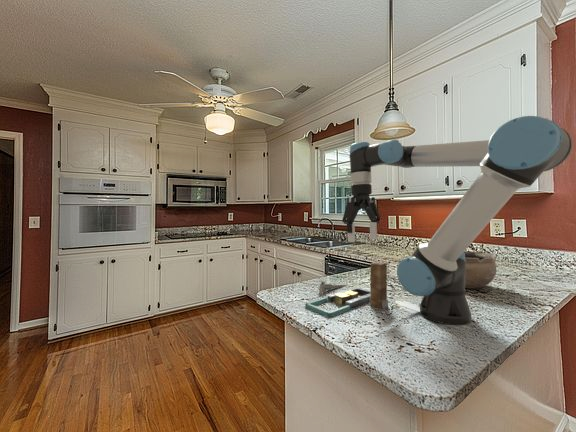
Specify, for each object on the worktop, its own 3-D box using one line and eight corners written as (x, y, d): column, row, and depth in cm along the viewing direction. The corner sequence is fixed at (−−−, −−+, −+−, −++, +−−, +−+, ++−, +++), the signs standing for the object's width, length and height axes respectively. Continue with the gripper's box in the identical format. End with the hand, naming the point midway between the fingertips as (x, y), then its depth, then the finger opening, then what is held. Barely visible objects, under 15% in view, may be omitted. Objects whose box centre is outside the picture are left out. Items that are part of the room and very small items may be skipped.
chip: (358, 300, 104) (358, 292, 104) (352, 303, 102) (352, 295, 102) (349, 297, 107) (349, 290, 107) (343, 300, 105) (343, 292, 104)
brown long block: (389, 310, 97) (389, 263, 96) (382, 313, 95) (382, 265, 94) (374, 305, 102) (374, 261, 101) (368, 308, 99) (368, 262, 99)
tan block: (349, 303, 101) (349, 295, 101) (341, 305, 99) (341, 297, 99) (342, 300, 105) (342, 292, 105) (334, 302, 103) (334, 294, 103)
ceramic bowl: (476, 296, 110) (476, 260, 110) (429, 283, 130) (429, 252, 130) (507, 288, 119) (507, 255, 119) (458, 277, 139) (459, 248, 139)
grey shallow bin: (379, 301, 106) (379, 293, 106) (351, 312, 96) (351, 303, 96) (354, 294, 116) (354, 286, 115) (326, 303, 105) (326, 295, 105)
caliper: (321, 297, 113) (321, 282, 113) (319, 296, 114) (319, 282, 114) (350, 287, 126) (350, 274, 126) (348, 286, 127) (348, 273, 127)
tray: (350, 312, 95) (349, 305, 95) (329, 320, 89) (329, 313, 89) (325, 303, 105) (325, 297, 105) (305, 310, 98) (305, 303, 98)
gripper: (372, 186, 113) (373, 237, 113) (331, 184, 97) (333, 242, 97) (388, 184, 107) (390, 238, 107) (347, 181, 92) (349, 244, 92)
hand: (363, 240), depth 102 cm, fingers open, 13 cm apart
